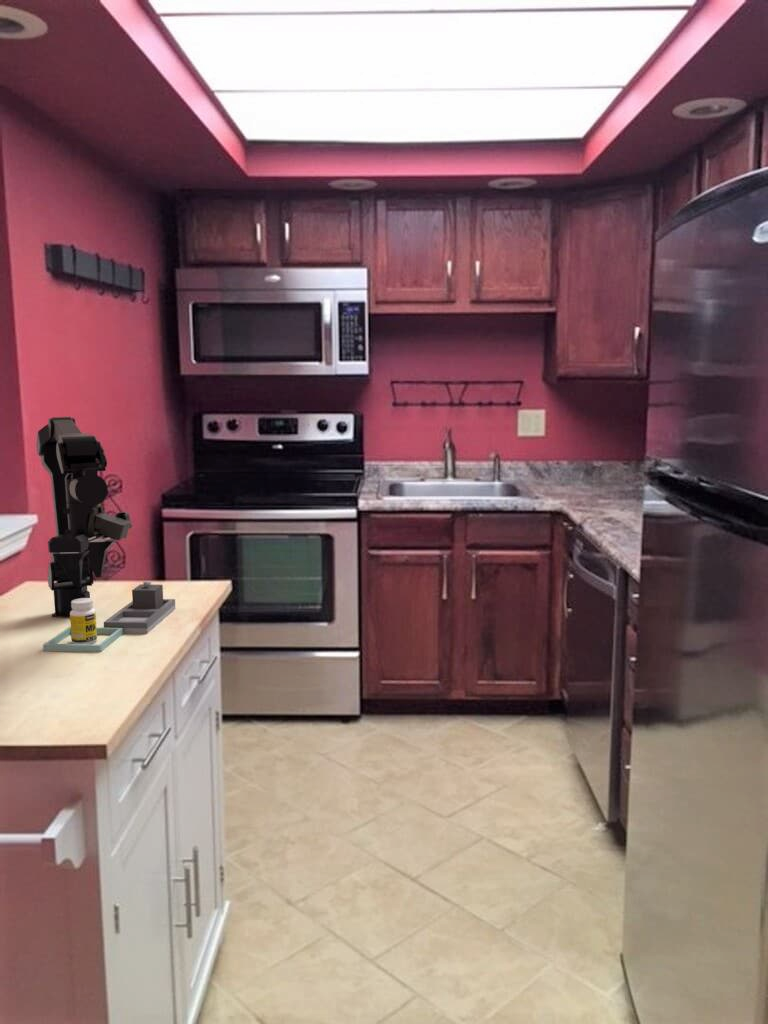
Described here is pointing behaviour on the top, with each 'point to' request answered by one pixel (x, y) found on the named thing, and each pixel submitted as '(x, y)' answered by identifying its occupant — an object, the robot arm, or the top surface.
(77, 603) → the supplement bottle
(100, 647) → the green square frame
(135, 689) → the top surface
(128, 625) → the grey socket tray
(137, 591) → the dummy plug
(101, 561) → the robot arm
